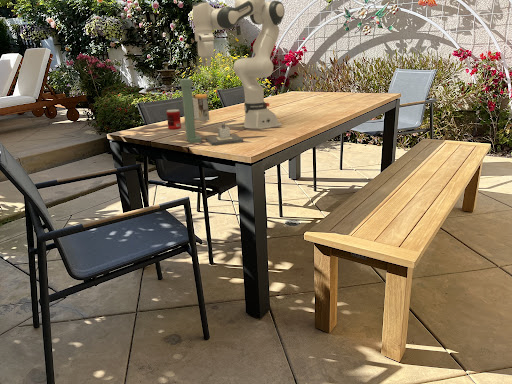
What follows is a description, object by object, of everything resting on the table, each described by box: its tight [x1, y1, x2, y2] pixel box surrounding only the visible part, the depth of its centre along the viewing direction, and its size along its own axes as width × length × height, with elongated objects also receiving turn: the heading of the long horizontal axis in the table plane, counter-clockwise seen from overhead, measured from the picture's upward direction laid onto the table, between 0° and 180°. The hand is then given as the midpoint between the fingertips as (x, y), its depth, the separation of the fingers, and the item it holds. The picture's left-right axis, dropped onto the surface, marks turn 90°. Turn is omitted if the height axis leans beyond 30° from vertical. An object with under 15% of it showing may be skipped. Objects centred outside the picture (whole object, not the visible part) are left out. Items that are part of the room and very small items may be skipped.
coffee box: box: [192, 95, 210, 122], centre depth 271 cm, size 9×6×16 cm
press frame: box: [179, 78, 202, 144], centre depth 206 cm, size 7×8×31 cm
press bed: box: [205, 133, 244, 146], centre depth 208 cm, size 16×14×2 cm
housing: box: [217, 123, 231, 139], centre depth 206 cm, size 5×5×7 cm
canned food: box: [166, 108, 182, 131], centre depth 246 cm, size 8×8×11 cm
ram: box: [192, 93, 208, 119], centre depth 207 cm, size 8×6×12 cm
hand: (206, 65), depth 210 cm, fingers open, 8 cm apart
